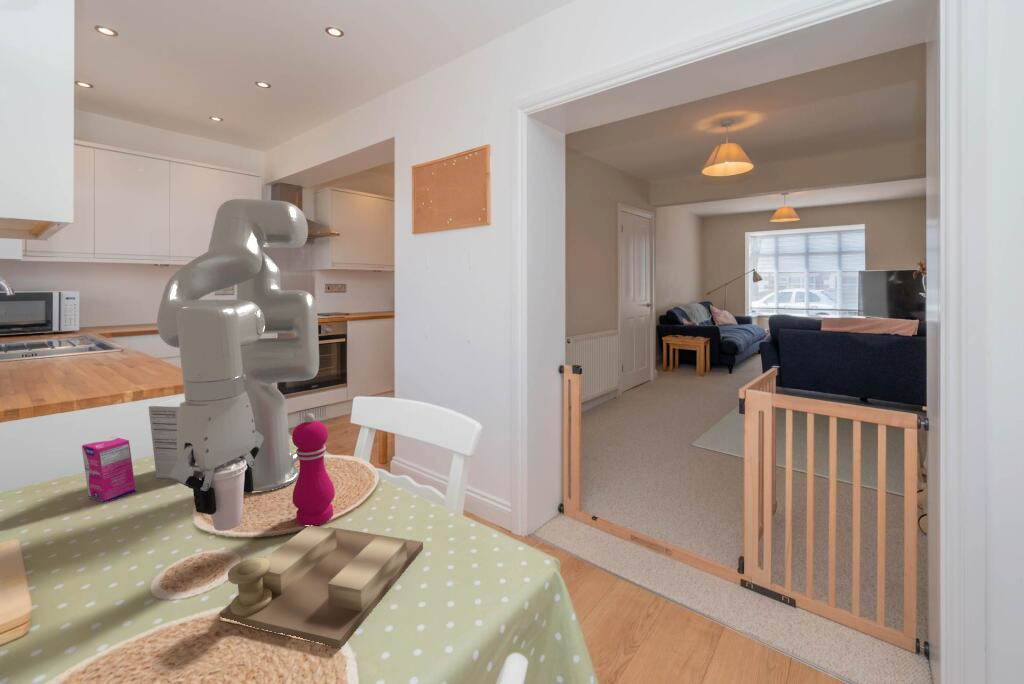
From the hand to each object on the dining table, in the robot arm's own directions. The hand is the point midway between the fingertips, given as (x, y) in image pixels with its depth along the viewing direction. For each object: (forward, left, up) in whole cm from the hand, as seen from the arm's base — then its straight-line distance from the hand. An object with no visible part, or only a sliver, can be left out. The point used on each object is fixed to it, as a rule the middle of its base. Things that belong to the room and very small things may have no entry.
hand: (225, 500), depth 72 cm
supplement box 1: (-12, -44, -10) cm, 46 cm away
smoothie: (0, 0, -4) cm, 4 cm away
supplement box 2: (-26, -40, -10) cm, 49 cm away
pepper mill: (-15, +3, -10) cm, 19 cm away
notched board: (0, +18, -10) cm, 21 cm away
